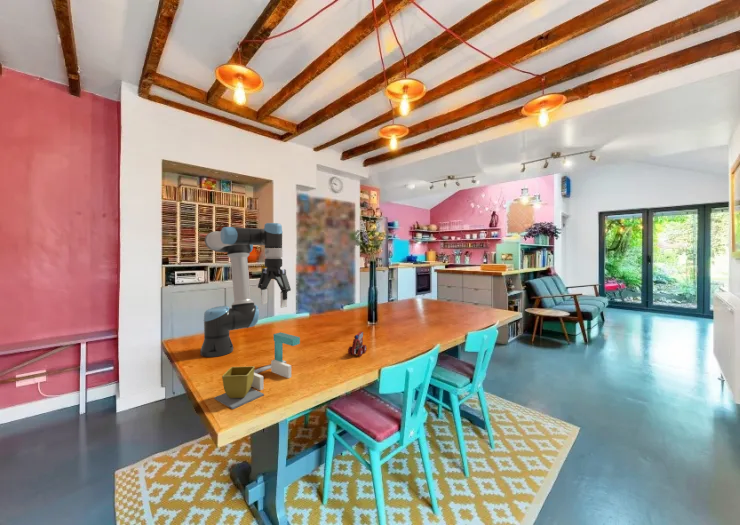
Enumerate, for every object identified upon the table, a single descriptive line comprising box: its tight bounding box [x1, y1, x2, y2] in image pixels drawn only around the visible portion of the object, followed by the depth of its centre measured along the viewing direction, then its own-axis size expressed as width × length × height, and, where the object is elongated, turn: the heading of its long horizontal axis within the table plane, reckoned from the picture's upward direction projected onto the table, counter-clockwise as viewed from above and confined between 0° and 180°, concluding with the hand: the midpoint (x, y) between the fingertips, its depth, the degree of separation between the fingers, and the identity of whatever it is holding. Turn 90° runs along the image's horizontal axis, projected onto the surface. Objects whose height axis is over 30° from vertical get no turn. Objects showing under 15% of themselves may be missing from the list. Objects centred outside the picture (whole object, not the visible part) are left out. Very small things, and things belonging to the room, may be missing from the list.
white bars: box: [251, 359, 292, 391], centre depth 129 cm, size 18×24×5 cm
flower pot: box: [221, 365, 256, 398], centre depth 109 cm, size 9×9×9 cm
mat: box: [213, 387, 265, 410], centre depth 109 cm, size 12×12×1 cm
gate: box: [273, 331, 301, 362], centre depth 137 cm, size 14×4×14 cm, turn 55°
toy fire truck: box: [347, 331, 367, 357], centre depth 155 cm, size 7×12×10 cm, turn 160°
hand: (273, 305), depth 134 cm, fingers open, 13 cm apart
